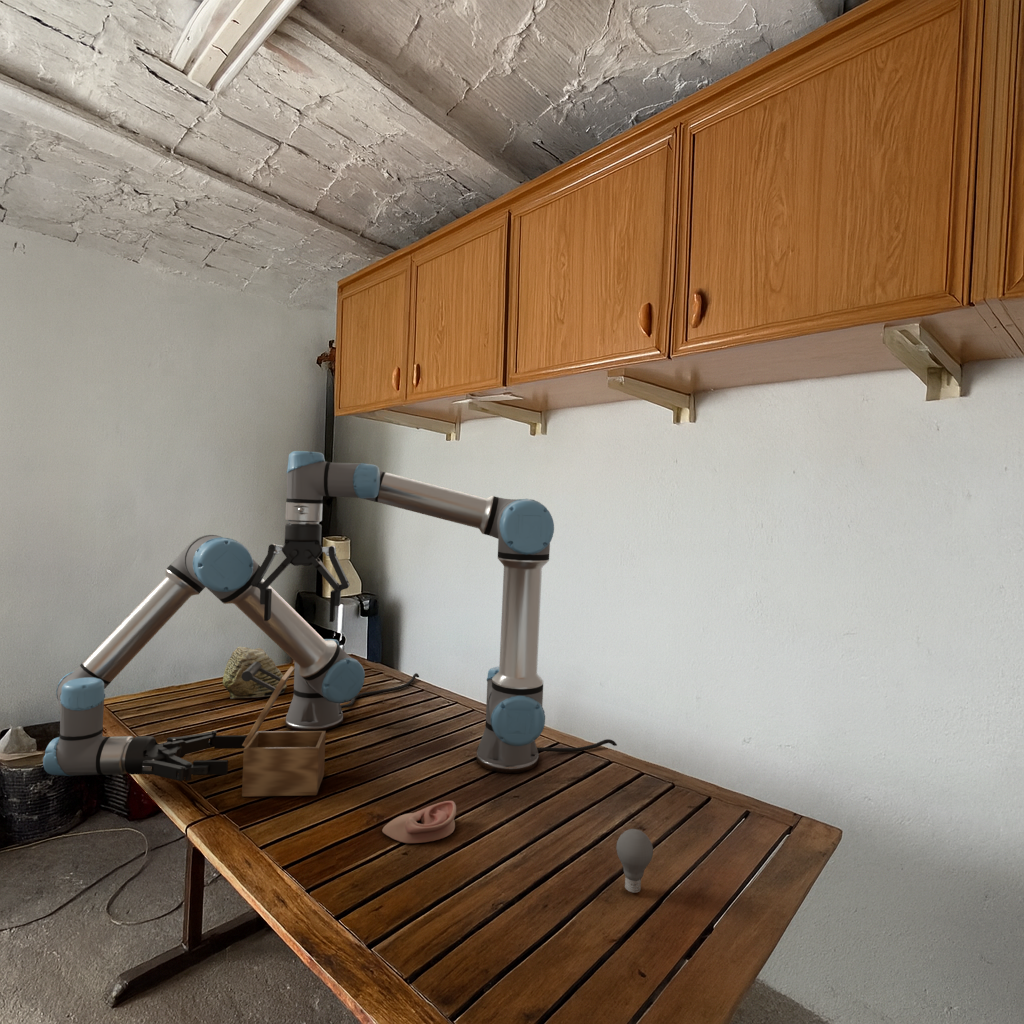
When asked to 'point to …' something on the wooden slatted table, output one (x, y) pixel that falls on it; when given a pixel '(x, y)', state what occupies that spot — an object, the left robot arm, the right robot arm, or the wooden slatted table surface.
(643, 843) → the light bulb
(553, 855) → the wooden slatted table surface
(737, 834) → the wooden slatted table surface
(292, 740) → the chest
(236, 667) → the fossil
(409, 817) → the anatomical model
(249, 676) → the lid
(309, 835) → the wooden slatted table surface
